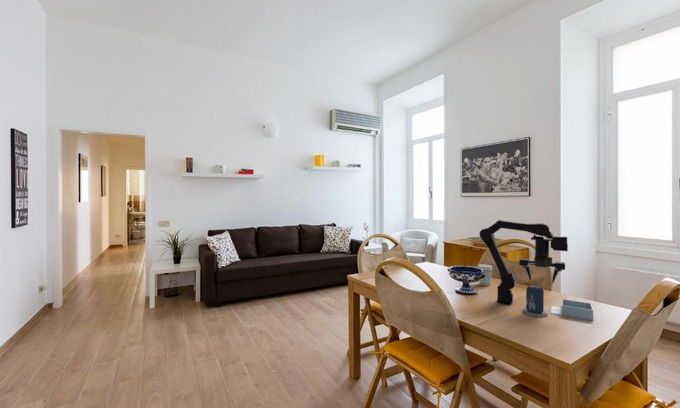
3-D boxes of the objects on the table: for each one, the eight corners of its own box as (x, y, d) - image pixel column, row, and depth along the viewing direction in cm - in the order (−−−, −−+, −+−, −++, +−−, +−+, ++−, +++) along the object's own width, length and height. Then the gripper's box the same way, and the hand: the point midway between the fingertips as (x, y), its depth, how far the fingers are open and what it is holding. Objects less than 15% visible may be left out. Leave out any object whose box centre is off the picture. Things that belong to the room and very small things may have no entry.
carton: (551, 313, 152) (551, 303, 152) (552, 304, 165) (552, 295, 165) (593, 320, 144) (593, 310, 144) (590, 310, 156) (590, 301, 156)
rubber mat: (521, 314, 151) (521, 313, 151) (523, 308, 159) (523, 307, 159) (547, 318, 145) (547, 317, 145) (547, 312, 154) (547, 311, 154)
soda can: (541, 310, 154) (541, 285, 154) (545, 315, 148) (545, 289, 148) (524, 308, 157) (524, 283, 156) (527, 313, 150) (528, 287, 150)
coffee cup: (495, 286, 199) (495, 266, 199) (484, 287, 196) (484, 267, 196) (484, 282, 207) (484, 263, 207) (473, 283, 204) (474, 264, 204)
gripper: (518, 249, 157) (517, 282, 158) (565, 253, 147) (564, 288, 147) (520, 247, 167) (520, 277, 167) (565, 250, 156) (564, 283, 156)
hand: (541, 281), depth 159 cm, fingers open, 9 cm apart
